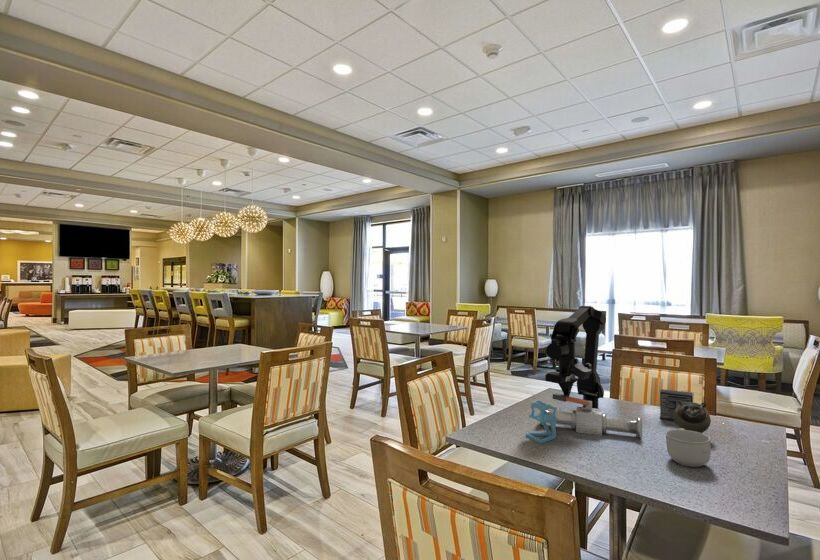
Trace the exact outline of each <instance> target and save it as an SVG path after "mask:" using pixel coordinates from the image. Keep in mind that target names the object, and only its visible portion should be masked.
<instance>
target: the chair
mask: <svg viewBox="0 0 820 560" xmlns="http://www.w3.org/2000/svg"><path fill="white" fill-rule="evenodd" d="M529 405H530V409H531V413H529V414H528V418H531V419H534V420H535V421H537V422H539V423H540V422H541V423H542V424H543V425H542V426H543V428H544V430H545V432H526V433H525V436H526V437H527V438H528V439H531V440H533V441H535V442H537V443H539V444H544V443H547V442H550V441H552V440H554V439H557V434H556V433H557V432H556V429H557V428H556V426H557V424H556V422H557V421H558V418H556V417H555V412H556V411H557V409H558V407H557V406H555V407H554V406H553V405H551V404H549V403H548V404H547V402H543V401H541V400H535V401H533V402H531V403H530V404H529ZM534 408H535V409H537V410H539V413H535V409H534ZM546 410H552V411H553V414H552V416H551V415H549V414H546ZM540 411H541V413H540ZM547 424H549V425H550V426H551V431H550V429H549V426H548V425H547ZM538 437H544V438H542V439H541V438H538Z"/></svg>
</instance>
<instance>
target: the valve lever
mask: <svg viewBox="0 0 820 560" xmlns="http://www.w3.org/2000/svg"><path fill="white" fill-rule="evenodd" d="M552 400H557V401H560V402H564V403H565V402H570V403H574V404H579V405H582V406H583V405H586V410H592V401H587V400H583V398H582V399H581V398H577V397H572V396H570V395H564V393H558V392H554V393H552Z"/></svg>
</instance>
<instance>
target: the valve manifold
mask: <svg viewBox="0 0 820 560" xmlns="http://www.w3.org/2000/svg"><path fill="white" fill-rule="evenodd" d="M553 411H554V410H553V409H547V410H546V414H549V415H551V416H552V414H553ZM539 413H541V411H540V410H539ZM555 417H556V418H558V421H557V422H556V425H563V426H570V427H571V429H572V430H575V433H580V434H587V435H595V436H601V437H602V435H603V434H607V431H609V432H616V433H617V432H618V433H625V434H633V435H635V437H636V438H637V439H642V438H643V421H642V420H643V419H642V418H641V417H638V416H637V417H636V416H635V419H629V418H628V419H626V418H620V417H619V418H618V417H611V416H610V417H609V416H607V414H606V413H603V412H602V409H601V408H599V409H595V408H592V410H586V407H583V406H576V409H572V410H571V412H568V411H561V410H560V411H558V410H556V412H555ZM539 425H540V426H543V424H542V423H541V422H539Z"/></svg>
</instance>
